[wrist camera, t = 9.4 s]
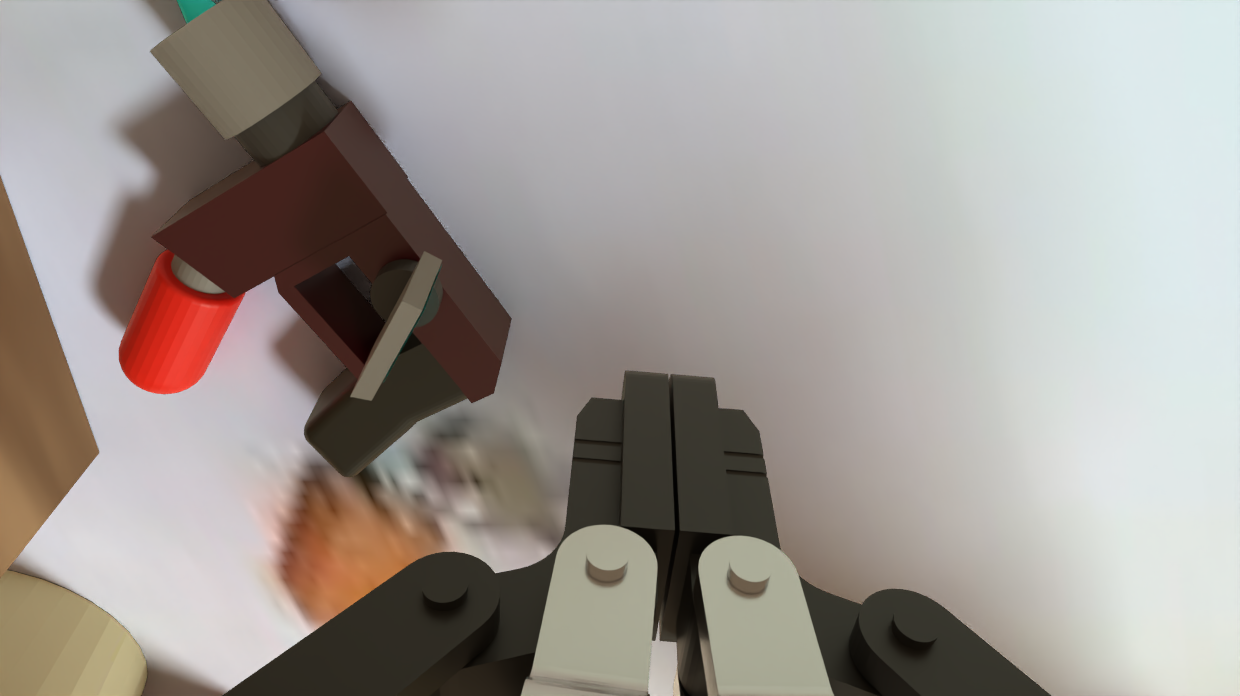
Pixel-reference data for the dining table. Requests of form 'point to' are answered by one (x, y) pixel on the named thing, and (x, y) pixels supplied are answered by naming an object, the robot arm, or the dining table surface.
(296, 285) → the toy gun
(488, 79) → the dining table surface
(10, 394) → the board
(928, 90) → the dining table surface
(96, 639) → the reusable coffee cup
